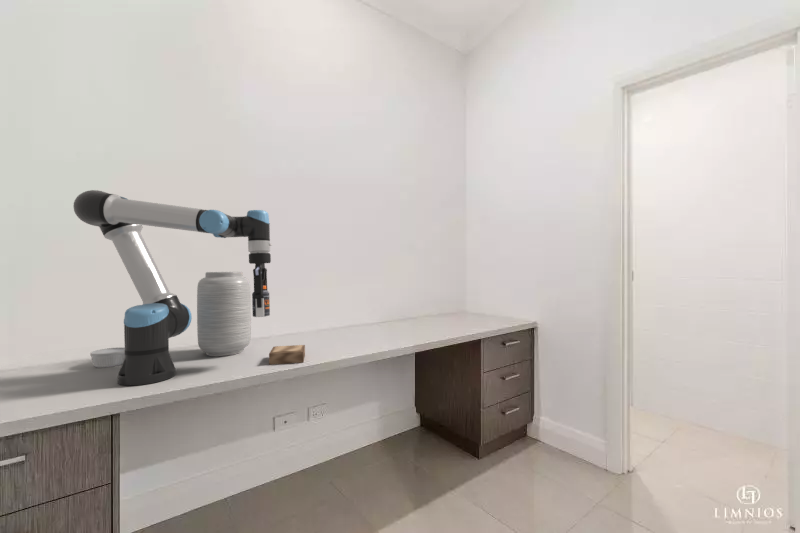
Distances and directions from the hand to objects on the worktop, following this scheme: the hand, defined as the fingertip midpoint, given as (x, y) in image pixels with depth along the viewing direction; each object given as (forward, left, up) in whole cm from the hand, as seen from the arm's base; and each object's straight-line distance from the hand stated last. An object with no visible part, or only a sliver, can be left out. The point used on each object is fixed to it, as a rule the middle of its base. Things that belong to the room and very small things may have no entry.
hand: (261, 315), depth 135 cm
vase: (-18, +22, -18) cm, 34 cm away
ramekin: (-55, +12, -18) cm, 59 cm away
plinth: (+9, +3, -18) cm, 20 cm away
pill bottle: (0, 0, 0) cm, 1 cm away
